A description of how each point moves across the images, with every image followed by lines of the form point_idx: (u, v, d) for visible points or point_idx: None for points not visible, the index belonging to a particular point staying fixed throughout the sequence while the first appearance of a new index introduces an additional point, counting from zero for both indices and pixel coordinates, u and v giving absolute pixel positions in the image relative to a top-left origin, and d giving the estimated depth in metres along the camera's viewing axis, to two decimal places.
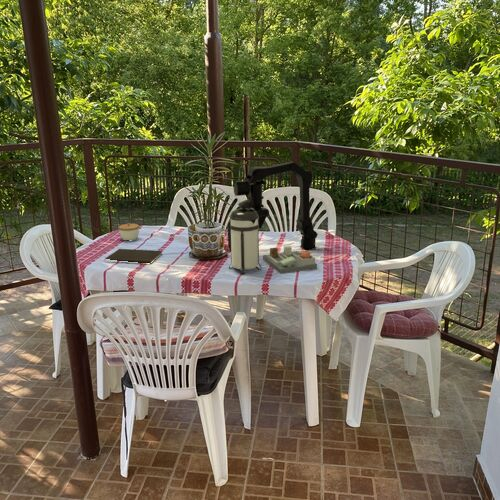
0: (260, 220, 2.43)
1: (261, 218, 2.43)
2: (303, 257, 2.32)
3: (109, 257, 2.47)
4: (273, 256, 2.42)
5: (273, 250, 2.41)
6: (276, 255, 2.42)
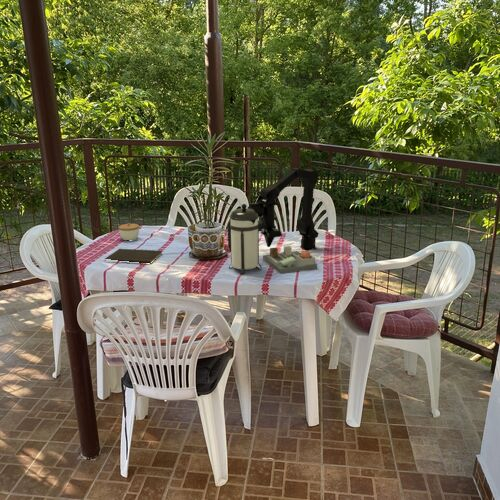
0: (269, 239, 2.46)
1: None
2: (303, 257, 2.32)
3: (109, 257, 2.47)
4: (273, 256, 2.42)
5: (273, 250, 2.41)
6: (276, 255, 2.42)
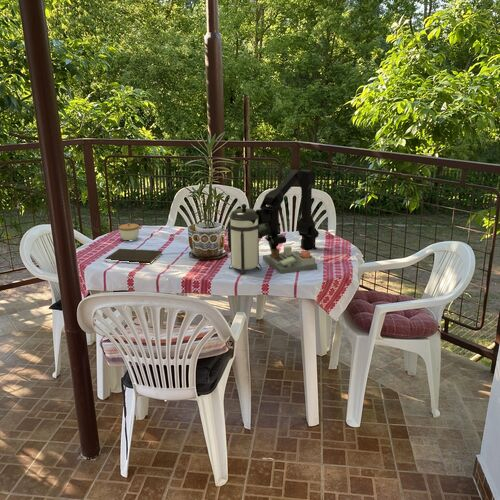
0: (273, 245, 2.42)
1: None
2: (303, 257, 2.32)
3: (109, 257, 2.47)
4: (274, 257, 2.41)
5: (274, 251, 2.40)
6: (277, 256, 2.41)
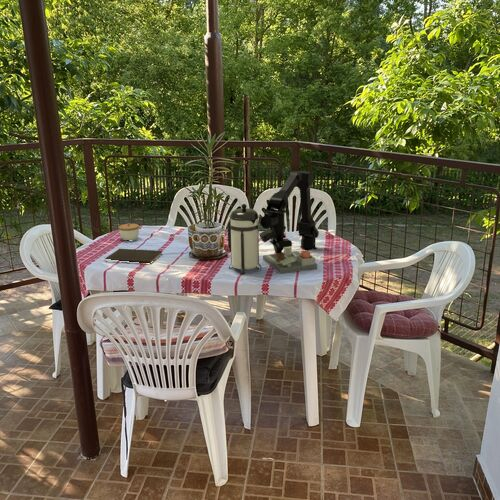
0: (278, 249, 2.36)
1: None
2: (303, 257, 2.32)
3: (109, 257, 2.47)
4: (279, 261, 2.35)
5: (279, 255, 2.34)
6: None
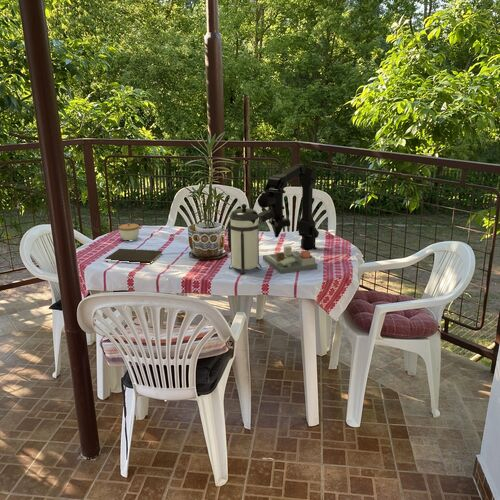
0: (277, 229, 2.37)
1: (278, 227, 2.37)
2: (303, 257, 2.32)
3: (109, 257, 2.47)
4: (279, 261, 2.35)
5: (279, 255, 2.34)
6: None
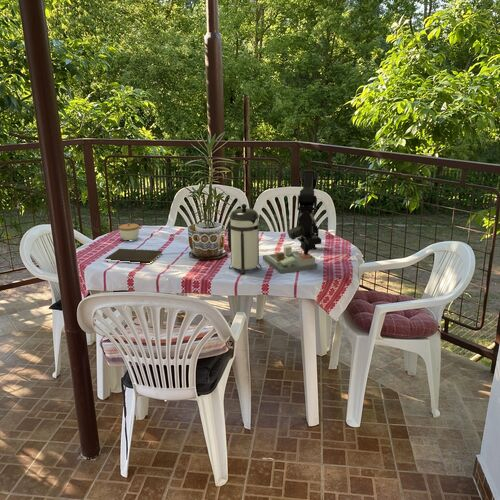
0: (307, 246, 2.31)
1: (308, 244, 2.31)
2: None
3: (109, 257, 2.47)
4: (279, 261, 2.35)
5: (279, 255, 2.34)
6: None
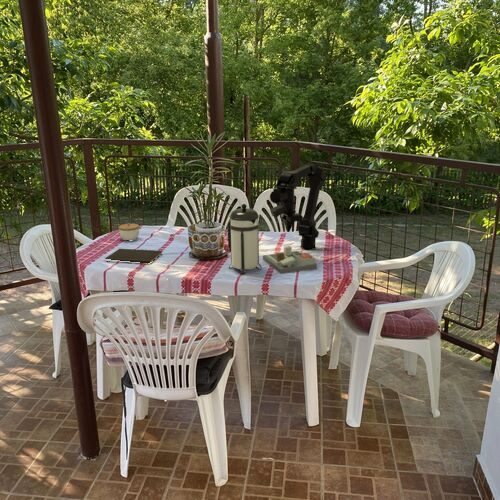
0: (289, 224, 2.43)
1: (290, 222, 2.43)
2: None
3: (109, 257, 2.47)
4: (279, 261, 2.35)
5: (279, 255, 2.34)
6: None
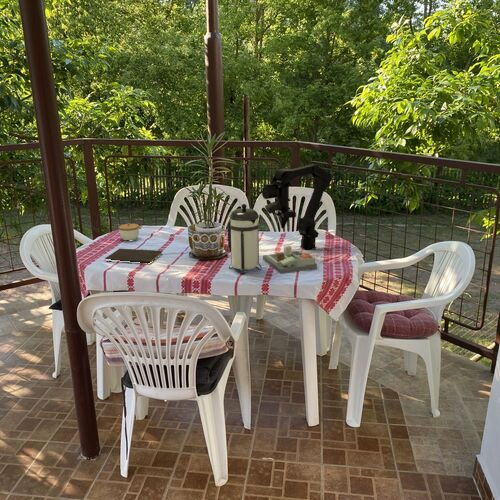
0: (283, 220, 2.48)
1: (284, 218, 2.48)
2: None
3: (110, 257, 2.47)
4: (279, 261, 2.35)
5: (279, 255, 2.34)
6: None
